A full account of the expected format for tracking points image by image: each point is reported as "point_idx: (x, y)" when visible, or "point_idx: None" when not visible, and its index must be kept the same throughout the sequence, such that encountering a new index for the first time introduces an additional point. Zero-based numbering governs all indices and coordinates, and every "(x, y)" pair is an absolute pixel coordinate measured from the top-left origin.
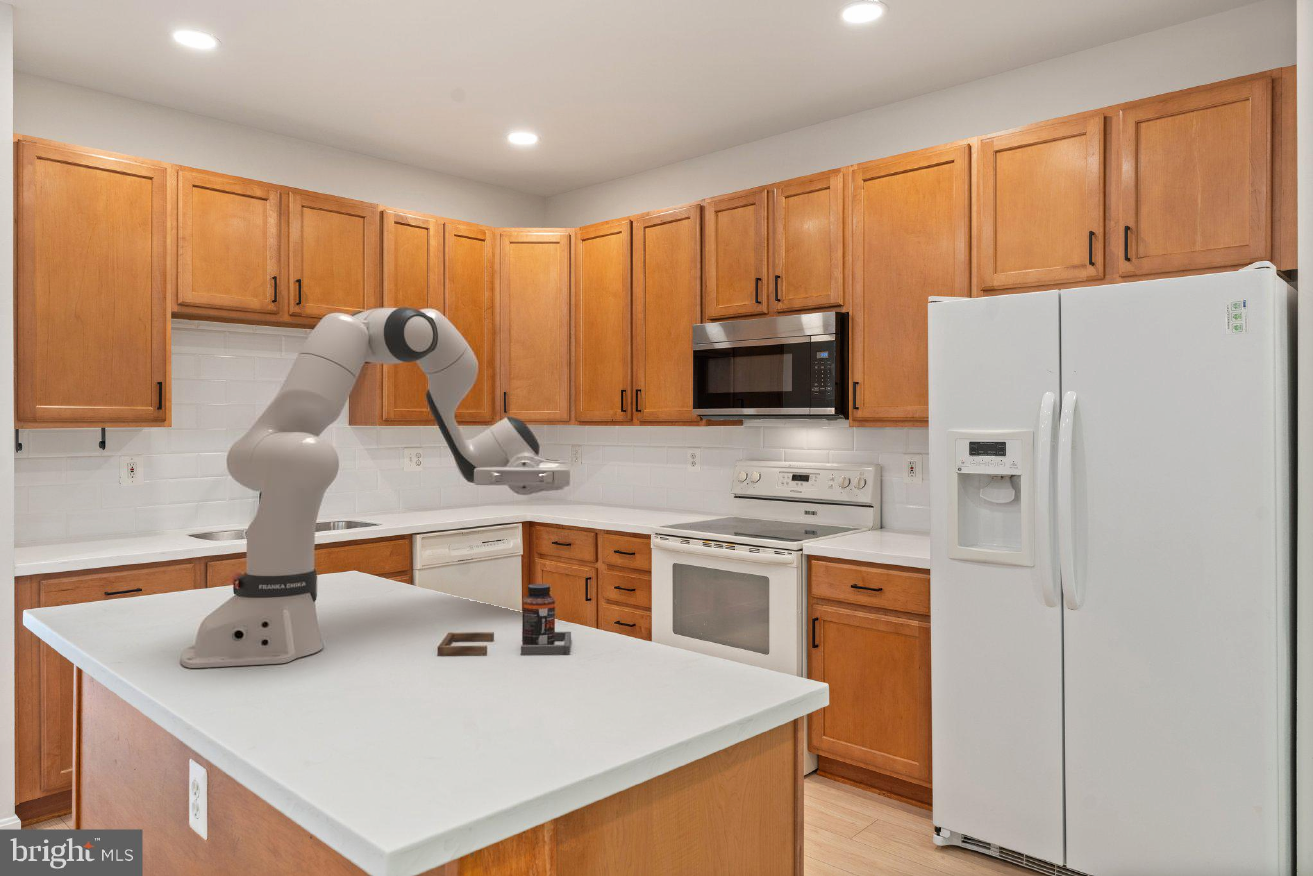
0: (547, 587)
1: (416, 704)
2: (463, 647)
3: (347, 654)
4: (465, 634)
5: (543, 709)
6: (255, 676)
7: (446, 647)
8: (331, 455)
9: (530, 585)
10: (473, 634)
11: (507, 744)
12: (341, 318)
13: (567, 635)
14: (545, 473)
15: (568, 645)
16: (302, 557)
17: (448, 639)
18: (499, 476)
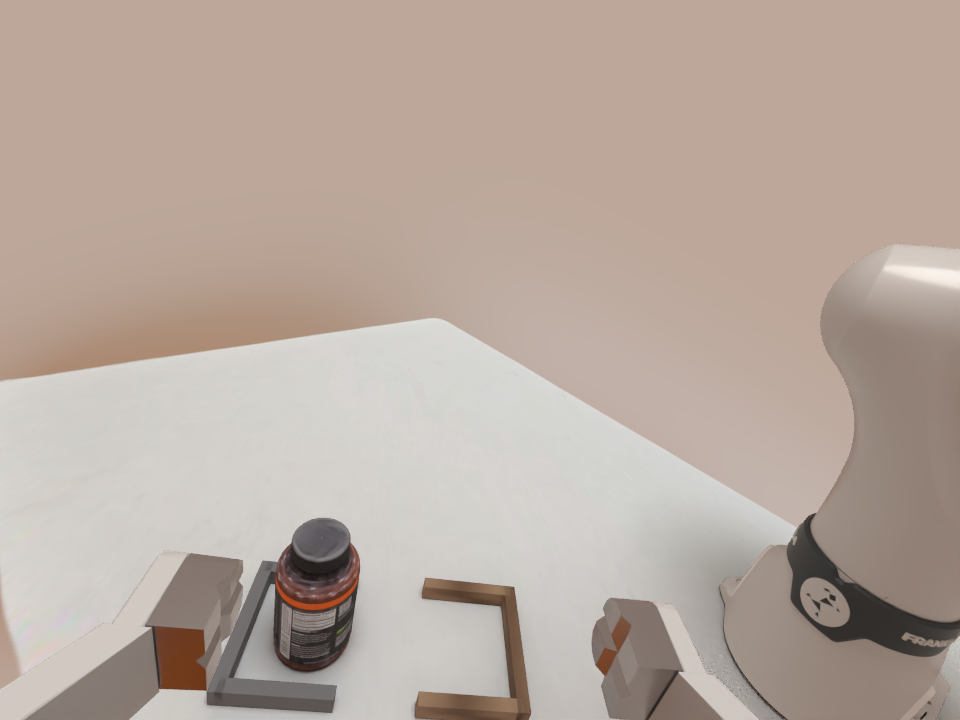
0: (303, 524)
1: (477, 434)
2: (467, 582)
3: None
4: (486, 697)
5: (352, 403)
6: (706, 538)
7: (498, 585)
8: (847, 279)
9: (344, 539)
10: (467, 696)
11: (388, 365)
12: None
13: (233, 648)
14: (138, 611)
15: (262, 565)
16: (826, 504)
17: (511, 643)
18: (608, 605)
